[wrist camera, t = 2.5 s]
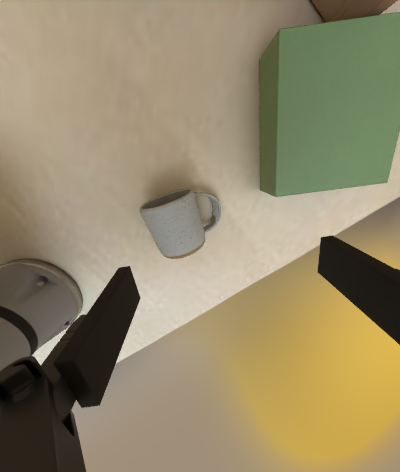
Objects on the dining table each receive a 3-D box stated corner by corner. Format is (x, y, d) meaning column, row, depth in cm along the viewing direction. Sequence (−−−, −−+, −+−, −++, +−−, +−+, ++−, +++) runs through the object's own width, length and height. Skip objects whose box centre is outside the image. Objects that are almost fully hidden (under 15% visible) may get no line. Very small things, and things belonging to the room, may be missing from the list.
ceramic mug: (165, 245, 32) (158, 269, 25) (145, 200, 29) (131, 212, 22) (225, 226, 32) (235, 245, 24) (210, 177, 29) (217, 183, 21)
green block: (259, 190, 29) (275, 197, 24) (259, 60, 24) (279, 28, 18) (350, 178, 29) (387, 182, 24) (372, 44, 23) (428, 7, 18)
